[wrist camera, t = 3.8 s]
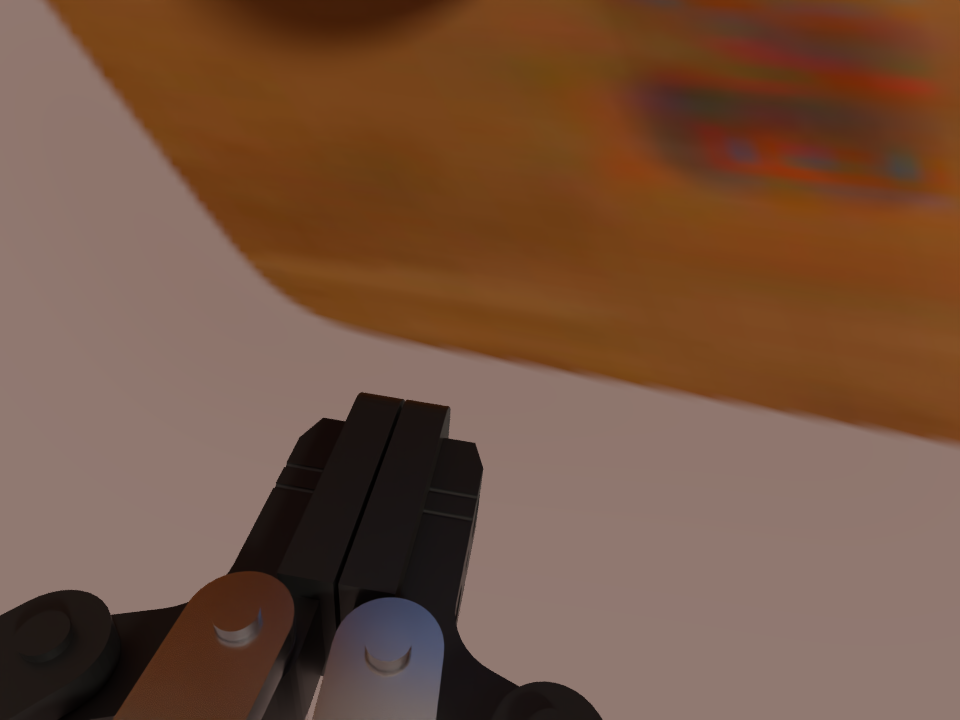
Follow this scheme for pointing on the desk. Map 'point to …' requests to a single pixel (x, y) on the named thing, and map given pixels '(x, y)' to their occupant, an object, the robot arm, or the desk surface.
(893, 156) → the desk surface
